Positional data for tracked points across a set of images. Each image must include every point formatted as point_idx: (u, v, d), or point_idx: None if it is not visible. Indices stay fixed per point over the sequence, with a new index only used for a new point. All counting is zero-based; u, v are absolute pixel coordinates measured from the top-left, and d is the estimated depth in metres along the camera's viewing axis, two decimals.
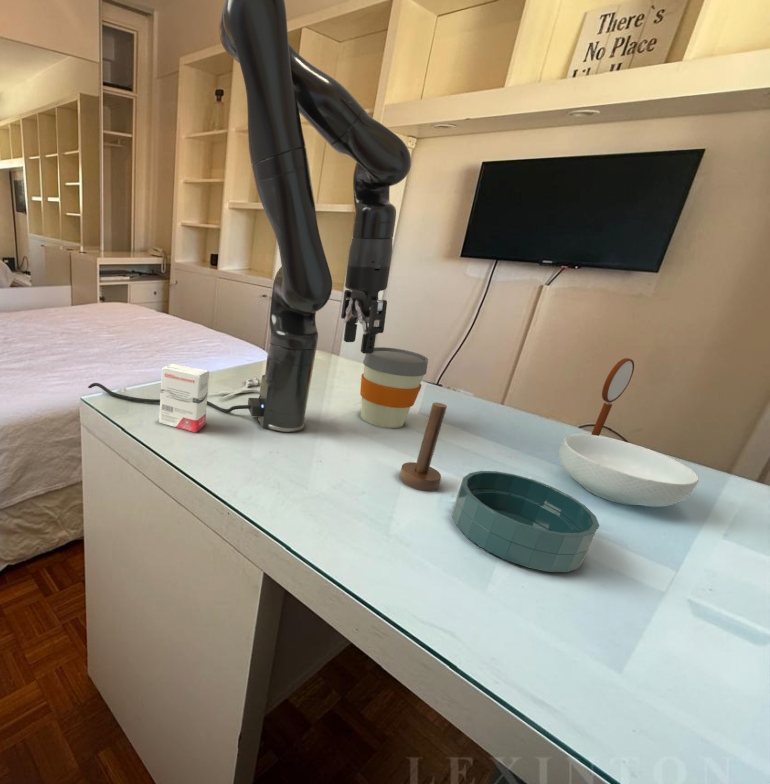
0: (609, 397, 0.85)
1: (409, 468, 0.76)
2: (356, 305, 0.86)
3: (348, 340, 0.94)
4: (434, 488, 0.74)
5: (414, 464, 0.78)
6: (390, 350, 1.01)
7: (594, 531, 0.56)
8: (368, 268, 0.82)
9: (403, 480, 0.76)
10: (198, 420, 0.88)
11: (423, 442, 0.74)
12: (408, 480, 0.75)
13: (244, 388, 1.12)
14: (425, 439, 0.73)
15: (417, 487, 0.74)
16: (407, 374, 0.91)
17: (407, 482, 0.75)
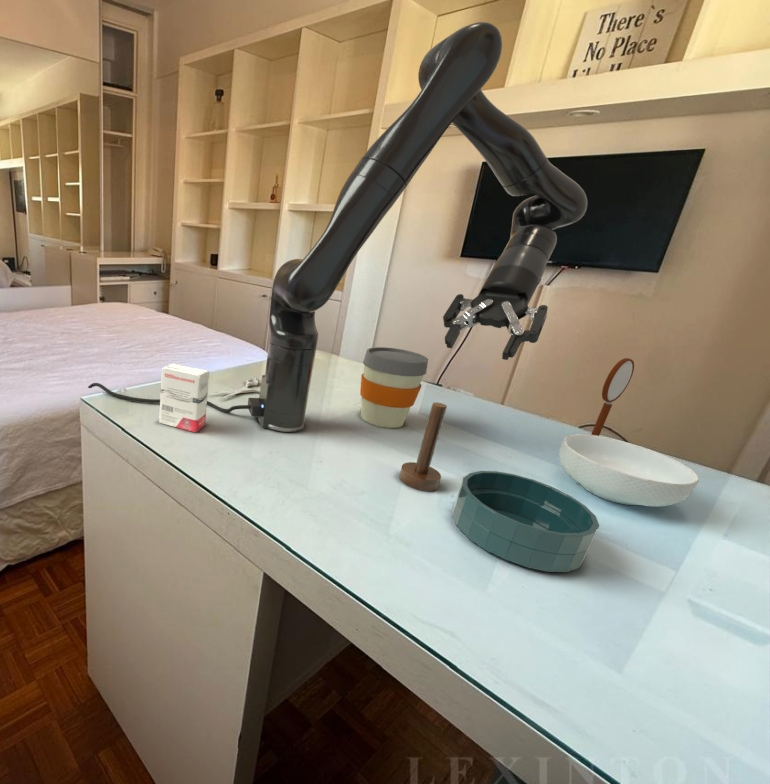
0: (609, 397, 0.85)
1: (409, 468, 0.76)
2: (506, 305, 0.76)
3: (451, 343, 0.79)
4: (434, 488, 0.74)
5: (414, 464, 0.78)
6: (390, 350, 1.01)
7: (594, 531, 0.56)
8: (536, 277, 0.77)
9: (403, 480, 0.76)
10: (198, 420, 0.88)
11: (423, 442, 0.74)
12: (408, 480, 0.75)
13: (244, 388, 1.12)
14: (425, 439, 0.73)
15: (417, 487, 0.74)
16: (407, 374, 0.91)
17: (407, 482, 0.75)
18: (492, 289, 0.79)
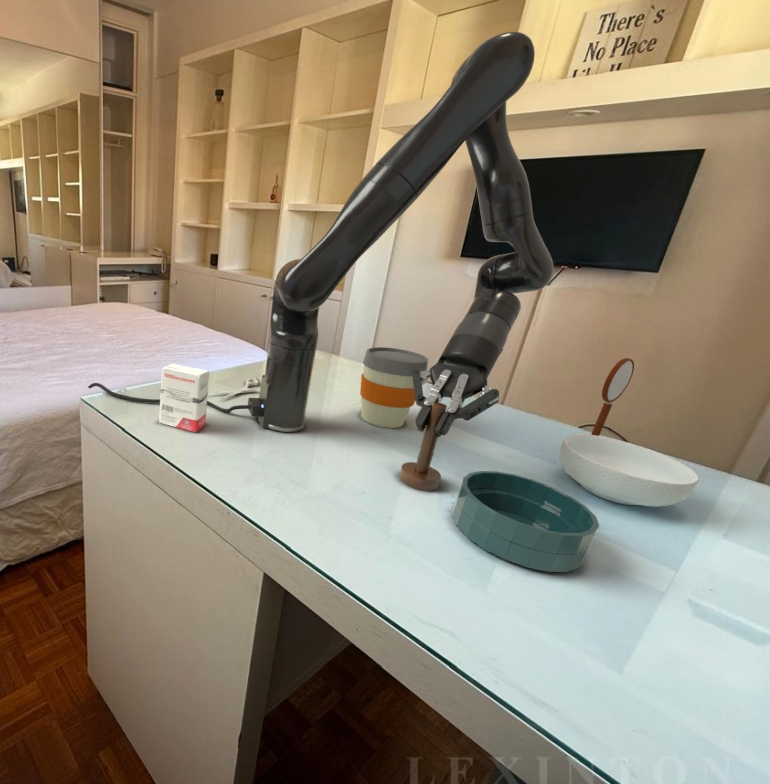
0: (609, 397, 0.85)
1: (410, 468, 0.76)
2: (462, 378, 0.71)
3: (422, 426, 0.72)
4: (434, 488, 0.74)
5: (414, 464, 0.78)
6: (390, 350, 1.01)
7: (594, 531, 0.56)
8: (496, 348, 0.72)
9: (403, 480, 0.76)
10: (198, 420, 0.88)
11: (423, 442, 0.74)
12: (408, 480, 0.75)
13: (244, 388, 1.12)
14: (425, 439, 0.73)
15: (417, 487, 0.74)
16: (407, 374, 0.91)
17: (407, 482, 0.75)
18: (450, 358, 0.74)
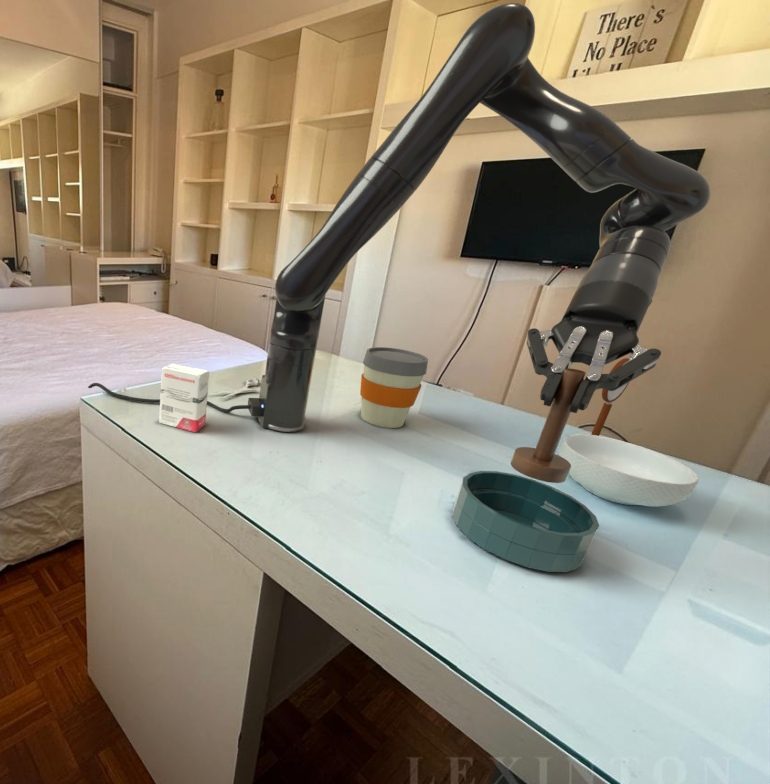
0: (609, 397, 0.85)
1: (527, 454, 0.60)
2: (604, 336, 0.55)
3: (552, 399, 0.56)
4: (563, 479, 0.58)
5: (529, 449, 0.62)
6: (390, 350, 1.01)
7: (594, 531, 0.56)
8: (648, 298, 0.56)
9: (520, 469, 0.59)
10: (198, 420, 0.88)
11: (549, 420, 0.58)
12: (528, 468, 0.58)
13: (244, 388, 1.12)
14: (552, 416, 0.57)
15: (541, 478, 0.58)
16: (407, 374, 0.91)
17: (526, 472, 0.59)
18: (584, 313, 0.58)
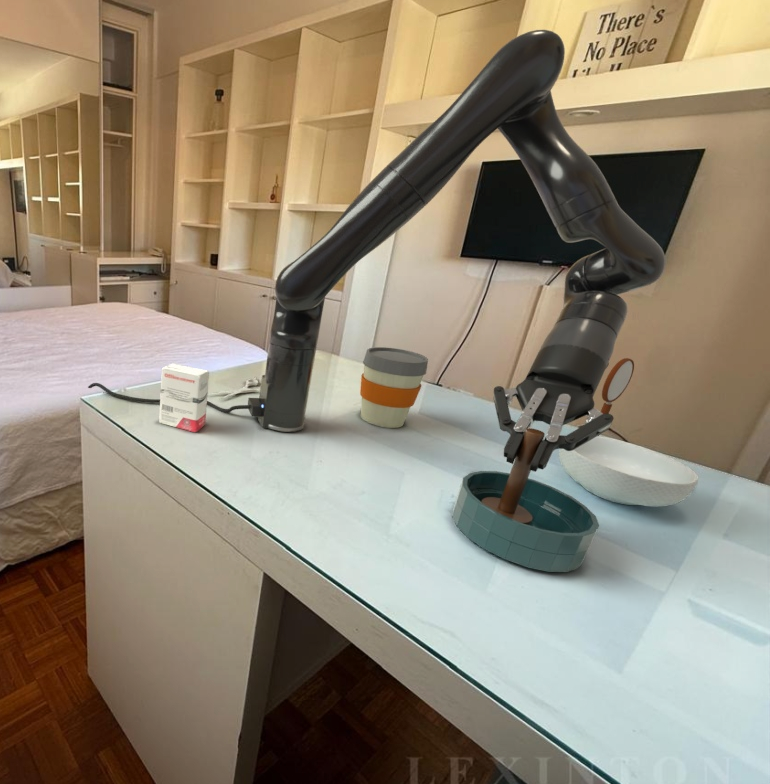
0: (609, 397, 0.85)
1: (492, 506, 0.64)
2: (563, 399, 0.59)
3: (513, 458, 0.59)
4: None
5: (495, 500, 0.65)
6: (390, 350, 1.01)
7: (594, 531, 0.56)
8: (604, 363, 0.59)
9: None
10: (198, 420, 0.88)
11: (511, 476, 0.61)
12: None
13: (244, 388, 1.12)
14: (515, 472, 0.61)
15: None
16: (407, 374, 0.91)
17: None
18: (545, 374, 0.61)
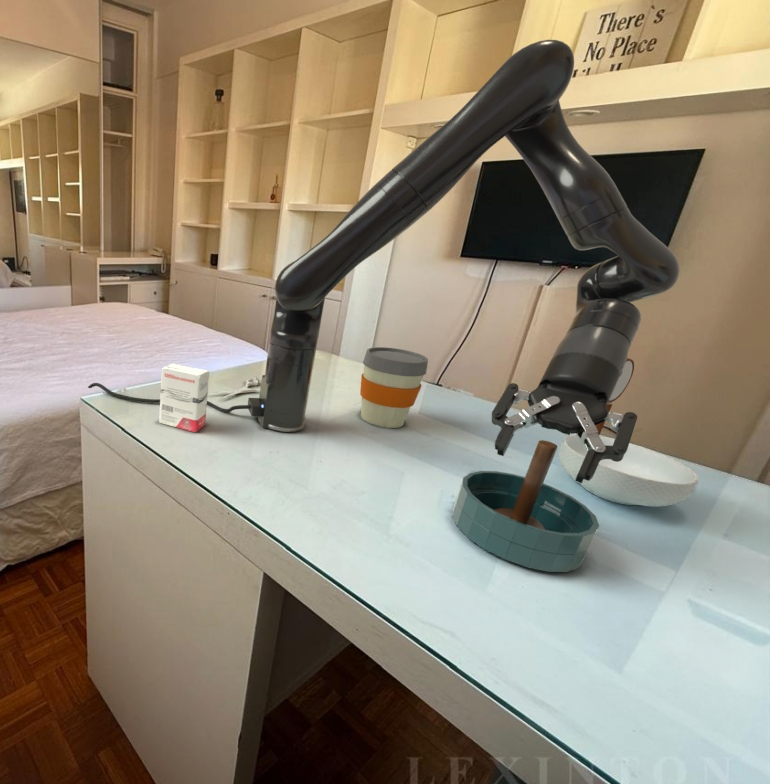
0: None
1: None
2: (578, 408, 0.58)
3: (504, 450, 0.61)
4: None
5: (507, 511, 0.65)
6: (390, 350, 1.01)
7: (594, 531, 0.56)
8: (617, 371, 0.59)
9: None
10: (198, 420, 0.88)
11: (524, 487, 0.61)
12: None
13: (244, 388, 1.12)
14: (527, 484, 0.61)
15: None
16: (407, 374, 0.91)
17: None
18: (558, 382, 0.61)
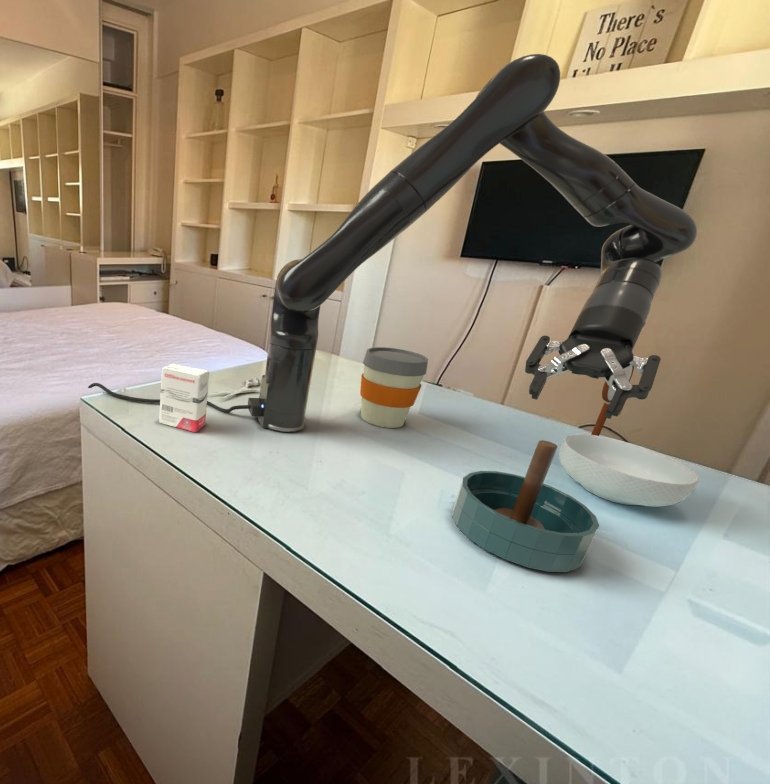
0: (609, 397, 0.85)
1: None
2: (607, 353, 0.65)
3: (538, 394, 0.68)
4: None
5: (507, 511, 0.65)
6: (390, 350, 1.01)
7: (594, 531, 0.56)
8: (642, 320, 0.65)
9: None
10: (198, 420, 0.88)
11: (524, 487, 0.61)
12: None
13: (244, 388, 1.12)
14: (527, 484, 0.61)
15: None
16: (407, 374, 0.91)
17: None
18: (587, 332, 0.67)
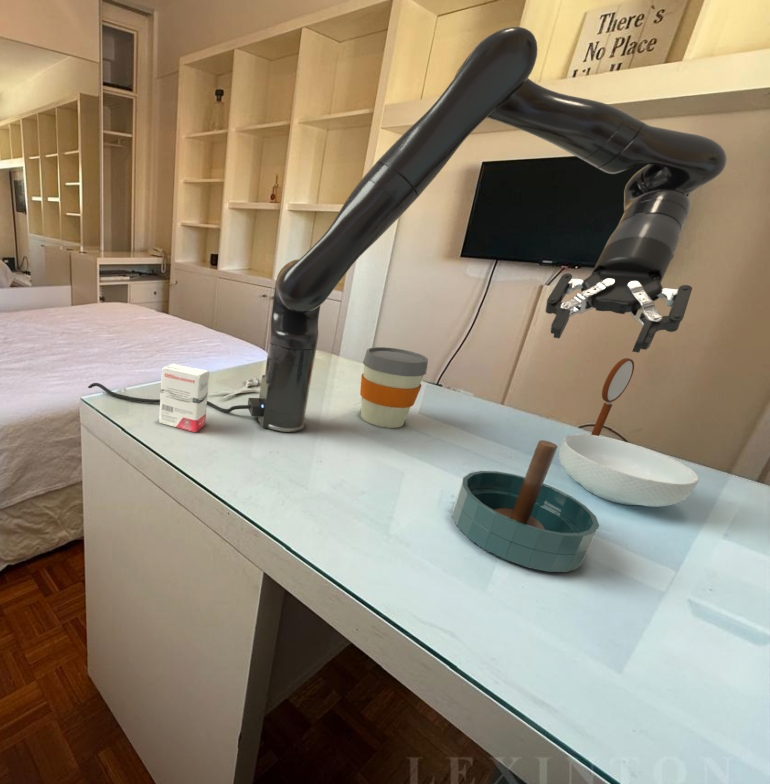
0: (609, 397, 0.85)
1: None
2: (634, 286, 0.62)
3: (561, 331, 0.65)
4: None
5: (507, 511, 0.65)
6: (390, 350, 1.01)
7: (594, 531, 0.56)
8: (670, 252, 0.62)
9: None
10: (198, 420, 0.88)
11: (524, 487, 0.61)
12: None
13: (244, 388, 1.12)
14: (527, 484, 0.61)
15: None
16: (407, 374, 0.91)
17: None
18: (612, 266, 0.64)
